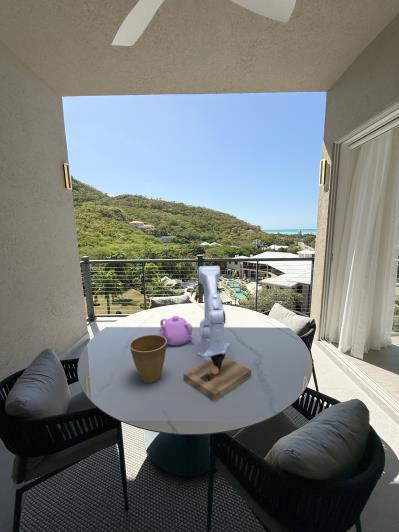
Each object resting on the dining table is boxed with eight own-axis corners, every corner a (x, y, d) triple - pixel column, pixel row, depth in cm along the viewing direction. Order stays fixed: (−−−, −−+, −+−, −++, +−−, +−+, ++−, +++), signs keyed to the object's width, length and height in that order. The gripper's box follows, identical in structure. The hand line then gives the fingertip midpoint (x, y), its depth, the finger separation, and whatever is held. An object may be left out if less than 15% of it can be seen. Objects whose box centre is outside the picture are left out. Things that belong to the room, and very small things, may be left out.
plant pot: (152, 364, 118) (150, 331, 115) (175, 376, 108) (174, 340, 106) (124, 379, 106) (122, 343, 104) (147, 394, 97) (145, 355, 94)
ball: (213, 362, 106) (215, 369, 107) (207, 367, 104) (210, 374, 105) (219, 364, 103) (221, 371, 104) (214, 370, 101) (216, 377, 102)
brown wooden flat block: (183, 380, 105) (183, 373, 105) (219, 360, 120) (219, 354, 120) (214, 401, 92) (214, 394, 92) (251, 376, 107) (251, 370, 107)
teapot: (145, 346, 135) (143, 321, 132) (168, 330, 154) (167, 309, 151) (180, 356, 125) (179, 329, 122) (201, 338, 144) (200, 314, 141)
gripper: (211, 347, 95) (212, 381, 97) (236, 335, 105) (236, 366, 107) (198, 341, 100) (199, 373, 102) (223, 330, 110) (223, 360, 112)
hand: (217, 369), depth 105 cm, fingers closed, pressing on ball
